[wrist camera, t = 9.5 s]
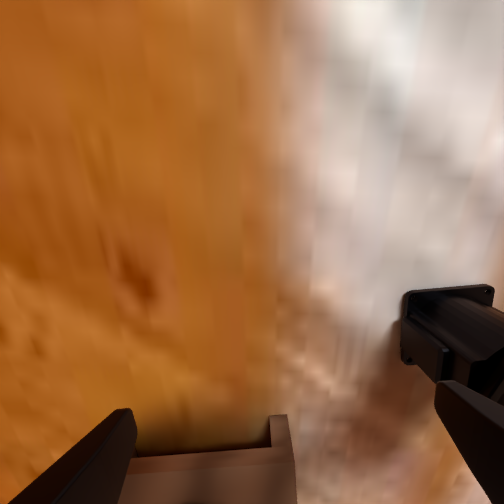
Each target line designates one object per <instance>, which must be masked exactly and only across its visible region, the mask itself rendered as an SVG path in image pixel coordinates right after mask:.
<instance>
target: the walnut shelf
mask: <svg viewBox="0 0 504 504" xmlns="http://www.w3.org/2000/svg"><path fill="white" fill-rule="evenodd" d="M269 419H270V431H271V443H272V447H270V448H257V449H244V450H231V451H218V452H206V453H193V454H180V455H167V456H154V457H142V458H138V456H137V453H136V449H135V446H134V449H133V453H132V456H131V460H130V463H129V467H128V470H127V474H126V477H125V481H124V484H123V488H122V491H121V495H120V498H119V501H118V504H297V493H296V477H295V462H294V456H293V449H292V443H291V437H290V431H289V424H288V418H287V414H286V415H274V416H269Z"/></svg>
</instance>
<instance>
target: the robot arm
mask: <svg viewBox="0 0 504 504" xmlns="http://www.w3.org/2000/svg"><path fill="white" fill-rule="evenodd" d="M485 291H486V292H485ZM484 292H485V293H484ZM494 292H495V289H494V288H493V287H492V286H490V285H487V284H479V285H467V286H456V287H445V288H433V289H422V290H411V291H409V292H407V293H406V295H405V303H404V317H403V319H402V327H401V341H400V346H401V360H402V361H403V362H404V364H406V365H418V366H419V367H420V368H421V369H422V370H423V371H424V372H425V373H426V375H427V376H428V377H429V378H430V379H431V380H432V381H433V382H434V383H435V384H436V390H435V399H434V407H435V410H436V412H437V414H438V416H439V418H440V419H441V421H442V423H443V424H444V426H445V428H446V430H447V431H448V433H449V435H450V436H451V438H452V440H453V441H454V443H455V445H456V447H457V448H458V450H459V452H460V453H461V455H462V457H463V458H464V460H465V462H466V464H467V465H468V467H469V469H470V470H471V472H472V473H473V475H474V477H475V478H476V480H477V481H478V482H479V484H480V485H481V487H482V488H483V490H484V491H485V493H486V495H487V496H488V498H489V500H490V501H491V503H492V504H504V312H502V311H500V310H498V309H496V308H494V307H492V304H493V298H494ZM413 296H415V297H414V298H413V299H411V298H412V297H413ZM407 358H408V359H407ZM136 439H137V426H136V423H135V419H134V415H133V412H132V410H131V409H130V408H123V409H117V410H115V411H113V412H112V413H111V414H110V415H109V416H108V417H106V418H105V419H104V420H103V421H102V422H101V423H100V424H98V425H97V426H96V427H95V428H94V429H93V430H92V431H90V432H89V433H88V434H87V435H86V436H85V437H84V438H82V439H81V440H80V441H79V442H78V443H77V444H75V445H74V446H73V447H72V448H71V449H70V450H69V451H67V452H66V453H65V454H64V455H63V456H62V457H61V458H59V459H58V460H57V461H56V462H55V463H54V464H53V465H51V466H50V467H49V468H48V469H47V470H46V471H44V472H43V473H42V474H41V475H40V476H39V477H38V478H36V479H35V480H34V481H33V482H32V483H31V484H30V485H28V486H27V487H26V488H25V489H24V490H23V491H22V492H20V493H19V494H18V495H17V496H16V497H15V498H13V499H12V500H11V501H10V502H9V503H8V504H118V501H119V498H120V495H121V491H122V488H123V484H124V481H125V477H126V474H127V470H128V467H129V463H130V460H131V456H132V453H133V449H134V446H135V442H136Z"/></svg>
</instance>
